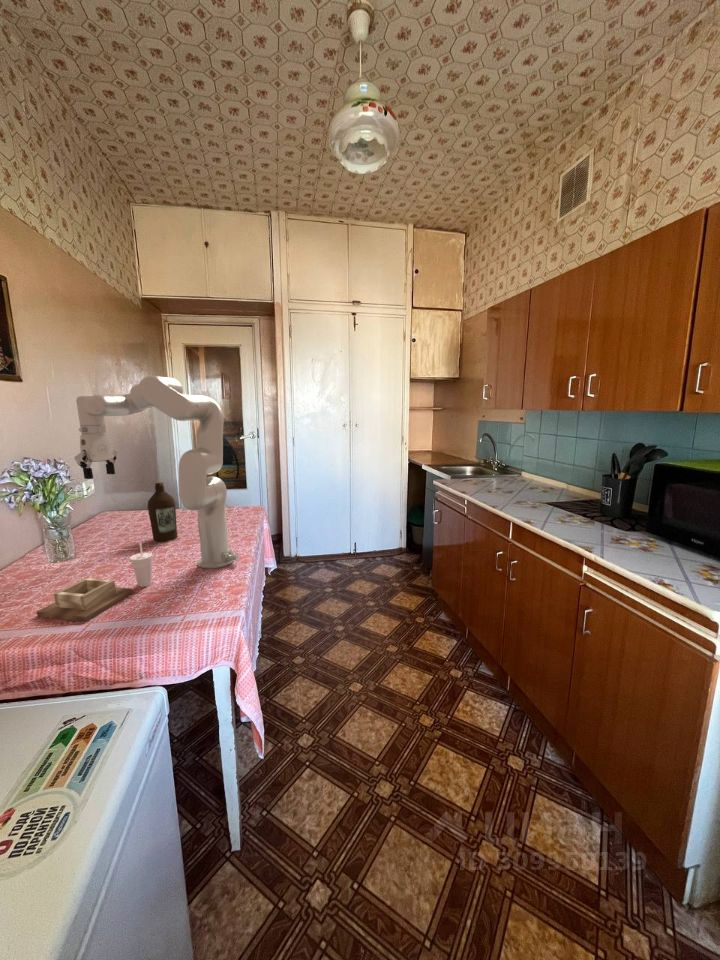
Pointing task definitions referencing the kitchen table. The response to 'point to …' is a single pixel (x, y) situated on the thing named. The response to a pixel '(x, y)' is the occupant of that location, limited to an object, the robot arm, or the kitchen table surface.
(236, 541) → the kitchen table surface
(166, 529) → the olive oil
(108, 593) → the wooden open box
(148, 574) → the smoothie
